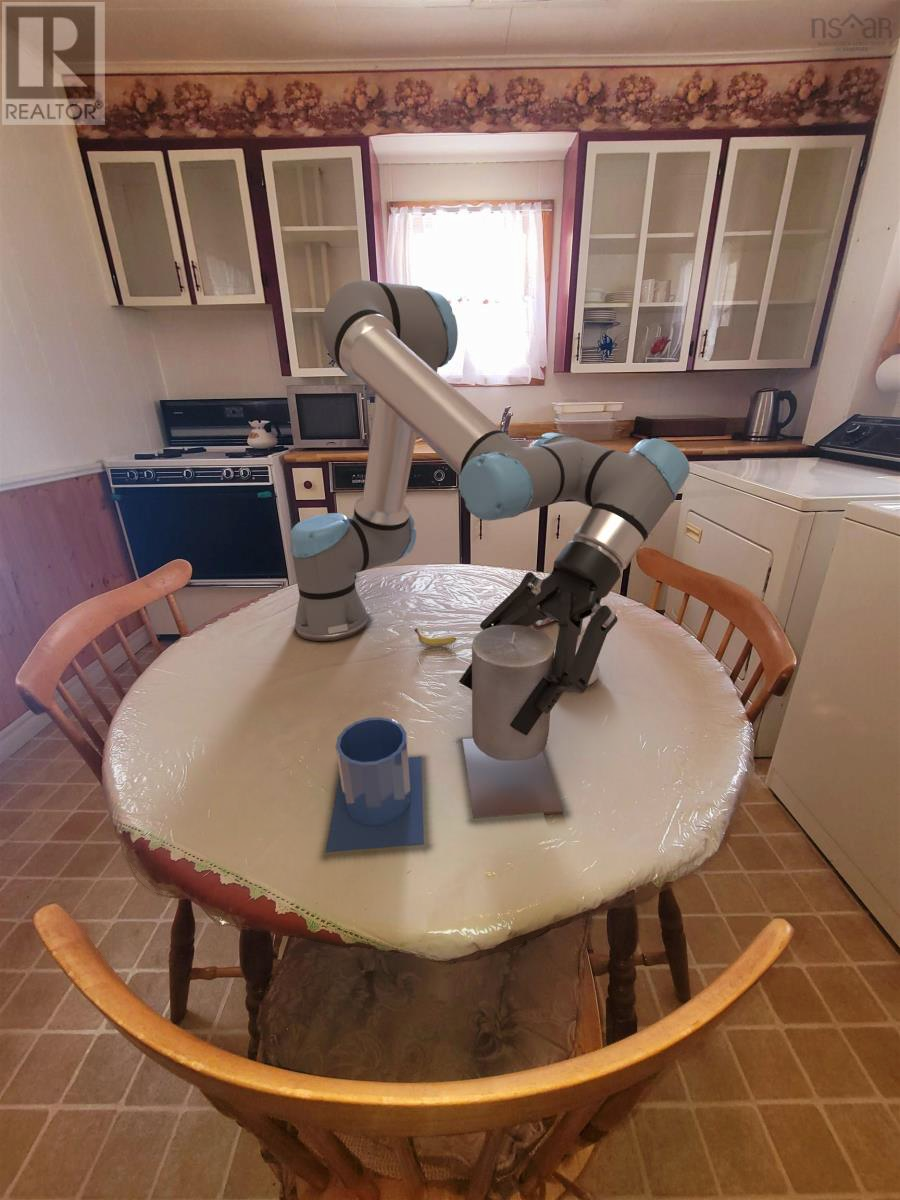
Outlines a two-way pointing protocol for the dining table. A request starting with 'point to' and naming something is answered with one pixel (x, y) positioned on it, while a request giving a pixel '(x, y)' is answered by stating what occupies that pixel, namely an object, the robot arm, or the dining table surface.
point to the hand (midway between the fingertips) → (490, 707)
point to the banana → (435, 640)
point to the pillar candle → (508, 689)
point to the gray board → (509, 785)
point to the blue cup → (374, 770)
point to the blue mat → (393, 834)
